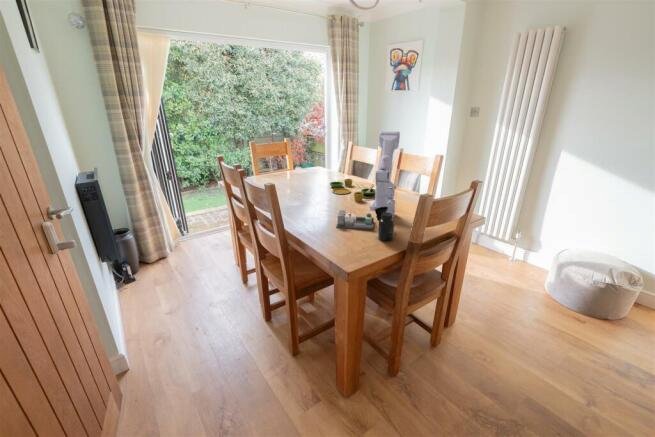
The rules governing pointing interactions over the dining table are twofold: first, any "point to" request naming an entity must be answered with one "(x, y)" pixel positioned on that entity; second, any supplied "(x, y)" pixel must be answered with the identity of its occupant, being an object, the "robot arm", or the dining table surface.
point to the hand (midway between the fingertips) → (379, 220)
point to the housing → (349, 219)
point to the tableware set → (357, 195)
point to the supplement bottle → (386, 227)
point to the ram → (368, 218)
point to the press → (358, 222)
